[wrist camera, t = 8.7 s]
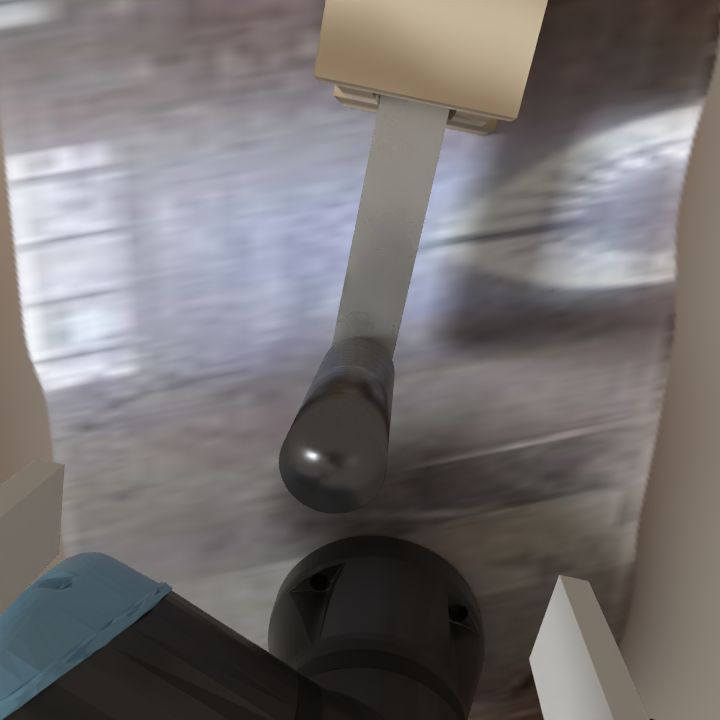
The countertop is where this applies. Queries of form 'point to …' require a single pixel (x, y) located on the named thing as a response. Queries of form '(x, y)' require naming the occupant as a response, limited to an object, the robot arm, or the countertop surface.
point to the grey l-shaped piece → (367, 320)
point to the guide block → (432, 55)
